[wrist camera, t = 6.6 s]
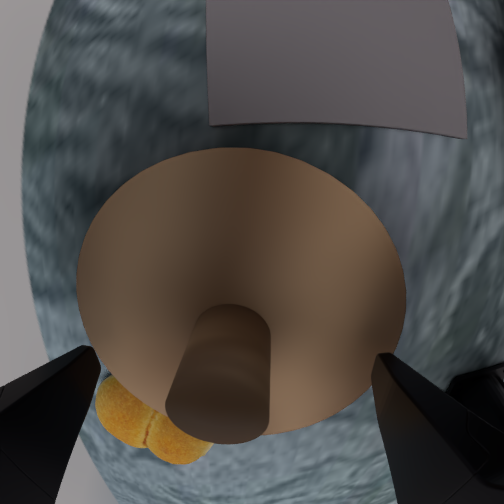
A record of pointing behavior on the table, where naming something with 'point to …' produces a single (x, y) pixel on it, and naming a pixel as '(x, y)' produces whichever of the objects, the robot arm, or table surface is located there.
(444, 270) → the table surface
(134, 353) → the lid
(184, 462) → the bread roll
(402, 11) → the mat
